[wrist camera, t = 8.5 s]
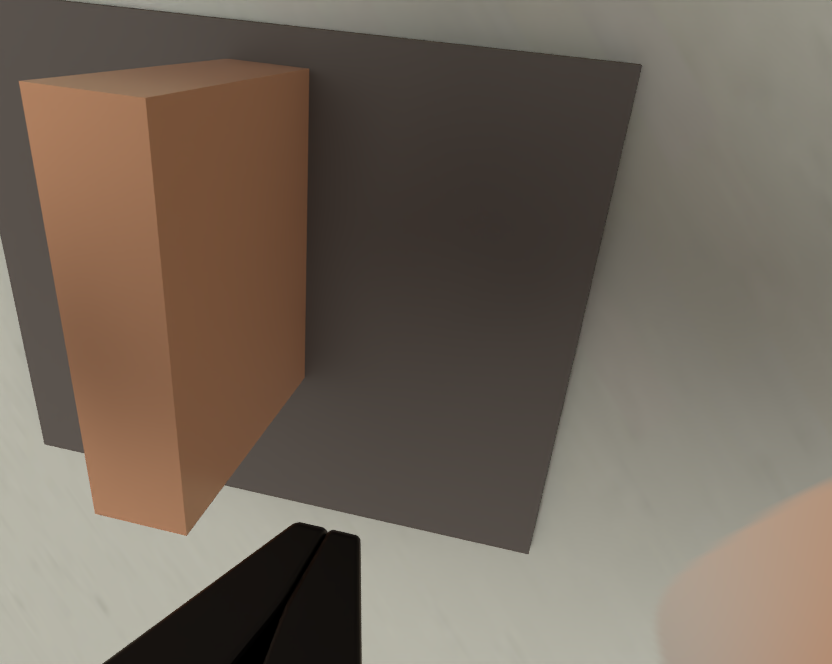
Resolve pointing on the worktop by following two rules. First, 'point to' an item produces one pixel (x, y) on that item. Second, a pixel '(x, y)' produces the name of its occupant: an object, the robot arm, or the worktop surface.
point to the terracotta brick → (175, 268)
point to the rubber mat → (378, 254)
